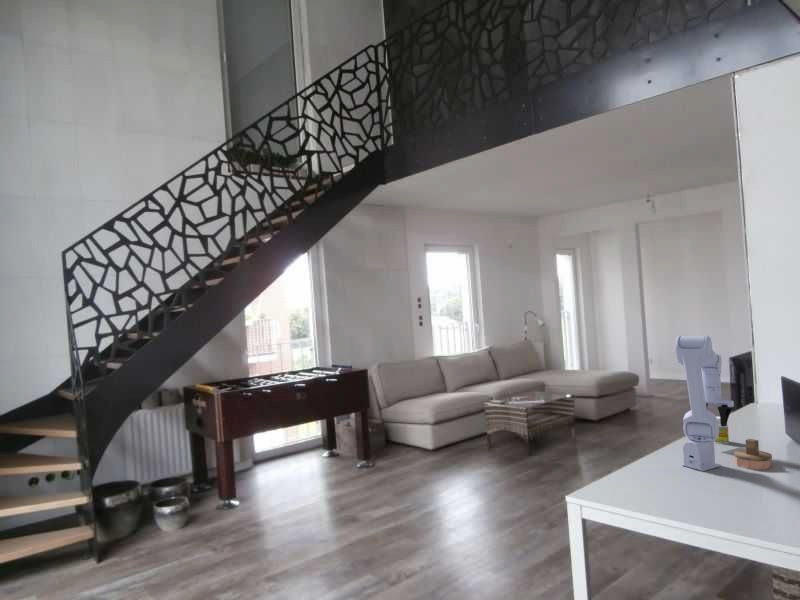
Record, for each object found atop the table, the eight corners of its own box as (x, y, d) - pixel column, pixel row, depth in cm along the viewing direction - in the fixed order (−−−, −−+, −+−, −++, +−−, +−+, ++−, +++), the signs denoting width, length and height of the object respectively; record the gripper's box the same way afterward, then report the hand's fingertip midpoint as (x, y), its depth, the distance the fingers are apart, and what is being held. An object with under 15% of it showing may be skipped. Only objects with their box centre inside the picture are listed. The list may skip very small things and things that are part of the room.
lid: (759, 463, 177) (758, 446, 177) (726, 455, 187) (726, 439, 187) (779, 457, 182) (778, 440, 182) (746, 450, 191) (745, 434, 191)
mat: (751, 460, 190) (751, 459, 190) (720, 453, 199) (720, 452, 199) (771, 454, 194) (771, 454, 194) (740, 448, 204) (740, 447, 204)
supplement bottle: (722, 440, 216) (720, 415, 216) (732, 443, 210) (730, 418, 210) (709, 441, 215) (708, 416, 215) (719, 445, 210) (717, 419, 210)
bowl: (758, 472, 178) (757, 462, 178) (728, 464, 186) (728, 455, 186) (776, 466, 182) (775, 457, 182) (746, 459, 190) (746, 451, 190)
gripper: (738, 387, 197) (740, 425, 197) (700, 382, 210) (702, 419, 210) (725, 389, 194) (727, 428, 194) (688, 385, 207) (689, 421, 207)
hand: (713, 424), depth 202 cm, fingers open, 7 cm apart
